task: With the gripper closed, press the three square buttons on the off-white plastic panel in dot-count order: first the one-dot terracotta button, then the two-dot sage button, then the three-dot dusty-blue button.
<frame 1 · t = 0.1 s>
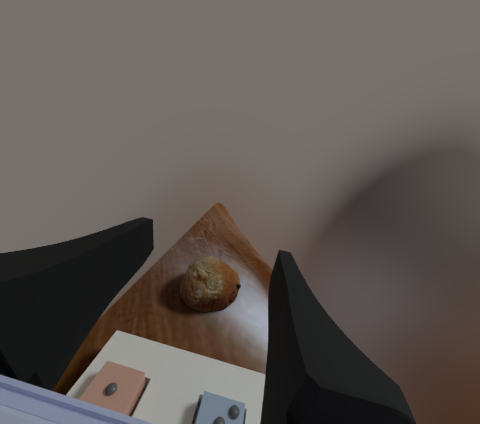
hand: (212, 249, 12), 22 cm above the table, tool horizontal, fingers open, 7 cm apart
bread roll: (209, 291, 38), on the table
button one: (111, 396, 19), point 4 cm above the table, slide at 0.0 cm
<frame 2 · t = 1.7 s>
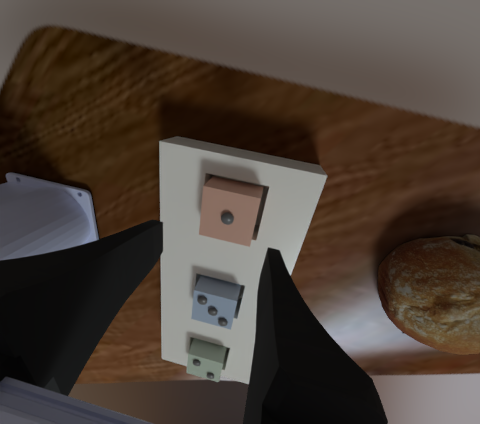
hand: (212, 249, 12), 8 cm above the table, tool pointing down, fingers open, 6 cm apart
button panel: (224, 276, 24), on the table
bread roll: (429, 277, 20), on the table
button three: (216, 301, 21), point 3 cm above the table, slide at 0.0 cm
button one: (230, 211, 16), point 4 cm above the table, slide at 0.0 cm
button two: (206, 358, 25), point 4 cm above the table, slide at 0.0 cm
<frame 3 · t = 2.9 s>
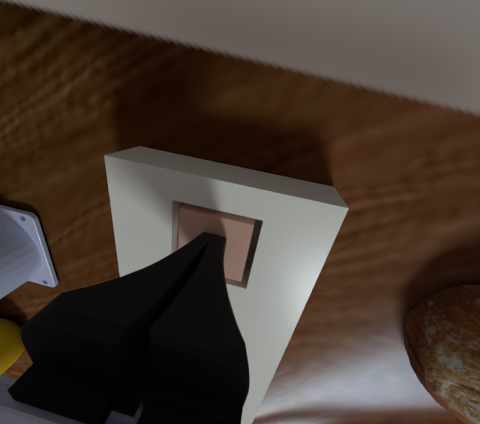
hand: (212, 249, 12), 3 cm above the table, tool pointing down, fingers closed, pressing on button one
duckling: (7, 320, 26), on the table
button panel: (210, 317, 19), on the table
bread roll: (472, 329, 15), on the table
button one: (217, 236, 13), point 2 cm above the table, slide at 1.6 cm, touching gripper
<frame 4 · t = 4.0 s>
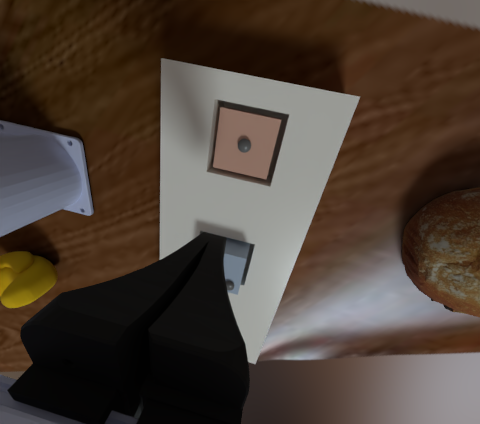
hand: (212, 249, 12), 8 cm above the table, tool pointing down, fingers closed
duckling: (38, 260, 29), on the table
button panel: (230, 240, 22), on the table
bread roll: (460, 240, 18), on the table
button three: (221, 263, 18), point 4 cm above the table, slide at 0.0 cm
button one: (246, 143, 15), point 2 cm above the table, slide at 1.8 cm
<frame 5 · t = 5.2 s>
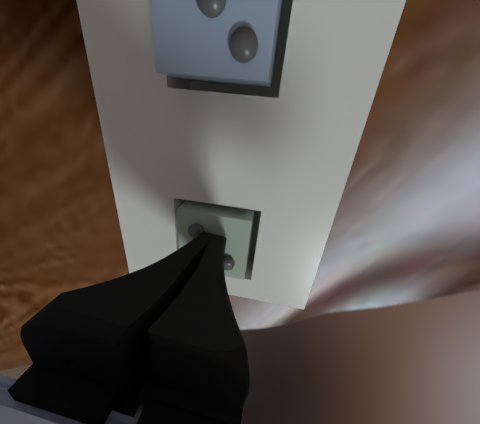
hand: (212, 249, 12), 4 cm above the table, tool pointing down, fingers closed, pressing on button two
button panel: (238, 41, 10), on the table
button three: (220, 13, 7), point 3 cm above the table, slide at 0.0 cm
button two: (217, 236, 13), point 2 cm above the table, slide at 1.1 cm, touching gripper
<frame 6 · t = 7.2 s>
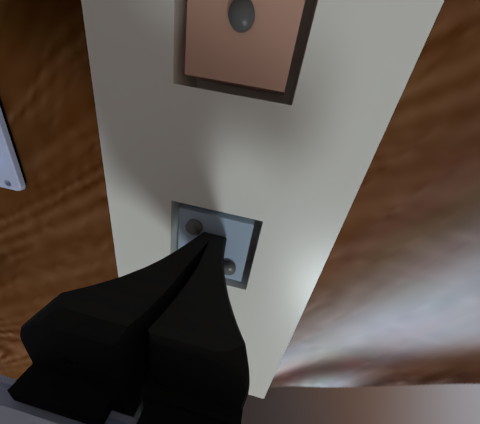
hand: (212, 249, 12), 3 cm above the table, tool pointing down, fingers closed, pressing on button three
button panel: (224, 222, 14), on the table
button three: (217, 236, 13), point 2 cm above the table, slide at 1.7 cm, touching gripper
button one: (246, 27, 8), point 2 cm above the table, slide at 1.8 cm
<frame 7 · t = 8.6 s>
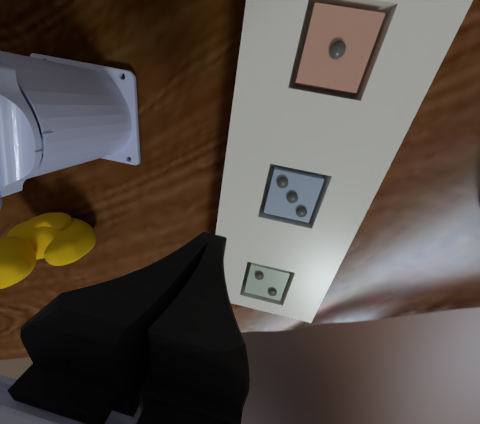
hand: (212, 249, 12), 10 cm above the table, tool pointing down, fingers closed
duckling: (73, 224, 27), on the table
button panel: (290, 186, 20), on the table
button three: (291, 192, 19), point 2 cm above the table, slide at 1.8 cm
button one: (332, 54, 14), point 2 cm above the table, slide at 1.8 cm
button two: (266, 276, 23), point 2 cm above the table, slide at 1.8 cm
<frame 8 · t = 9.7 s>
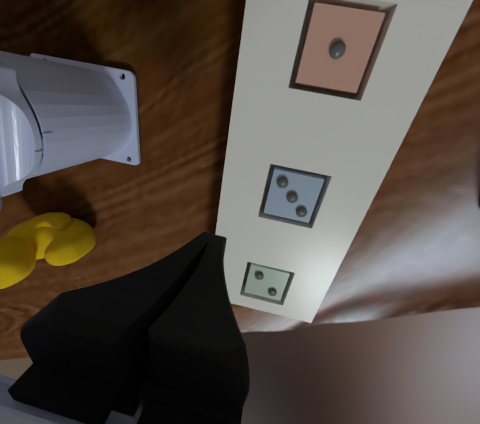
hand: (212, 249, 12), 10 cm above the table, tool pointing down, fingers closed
duckling: (73, 224, 27), on the table
button panel: (290, 186, 20), on the table
button three: (291, 192, 19), point 2 cm above the table, slide at 1.8 cm
button one: (332, 54, 14), point 2 cm above the table, slide at 1.8 cm
button two: (266, 276, 23), point 2 cm above the table, slide at 1.8 cm
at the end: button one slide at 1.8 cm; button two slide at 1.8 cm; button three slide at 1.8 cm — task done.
